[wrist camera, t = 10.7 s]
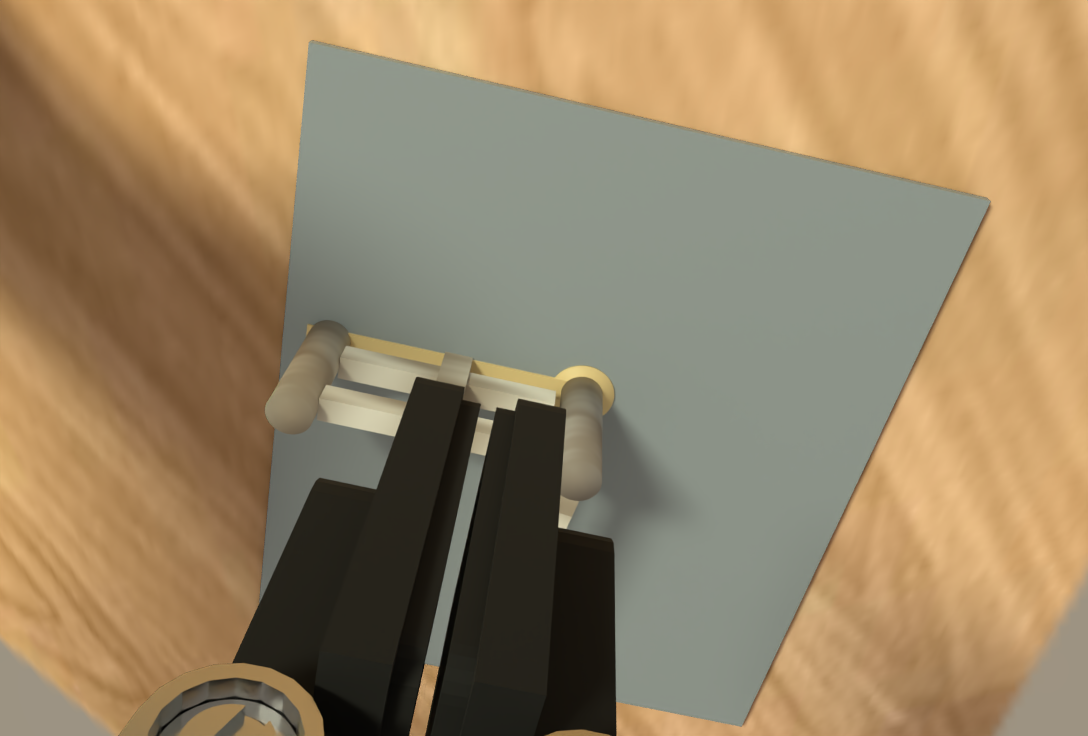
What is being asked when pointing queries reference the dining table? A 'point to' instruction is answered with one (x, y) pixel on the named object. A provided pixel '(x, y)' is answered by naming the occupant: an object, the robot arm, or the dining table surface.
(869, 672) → the dining table surface
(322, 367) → the fence section
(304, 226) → the card
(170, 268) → the dining table surface
